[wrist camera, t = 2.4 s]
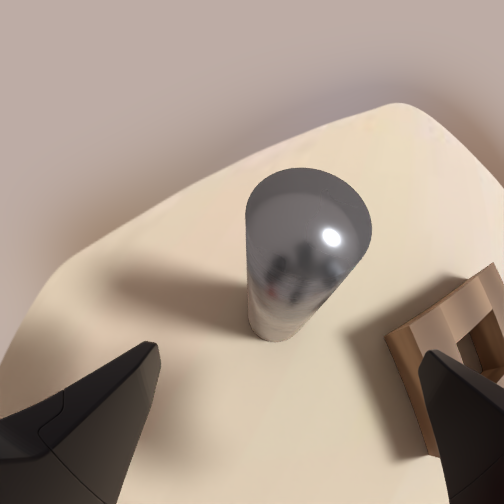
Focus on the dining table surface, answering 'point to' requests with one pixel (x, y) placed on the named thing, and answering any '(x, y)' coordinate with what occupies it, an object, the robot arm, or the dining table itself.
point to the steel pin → (300, 247)
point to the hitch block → (453, 337)
